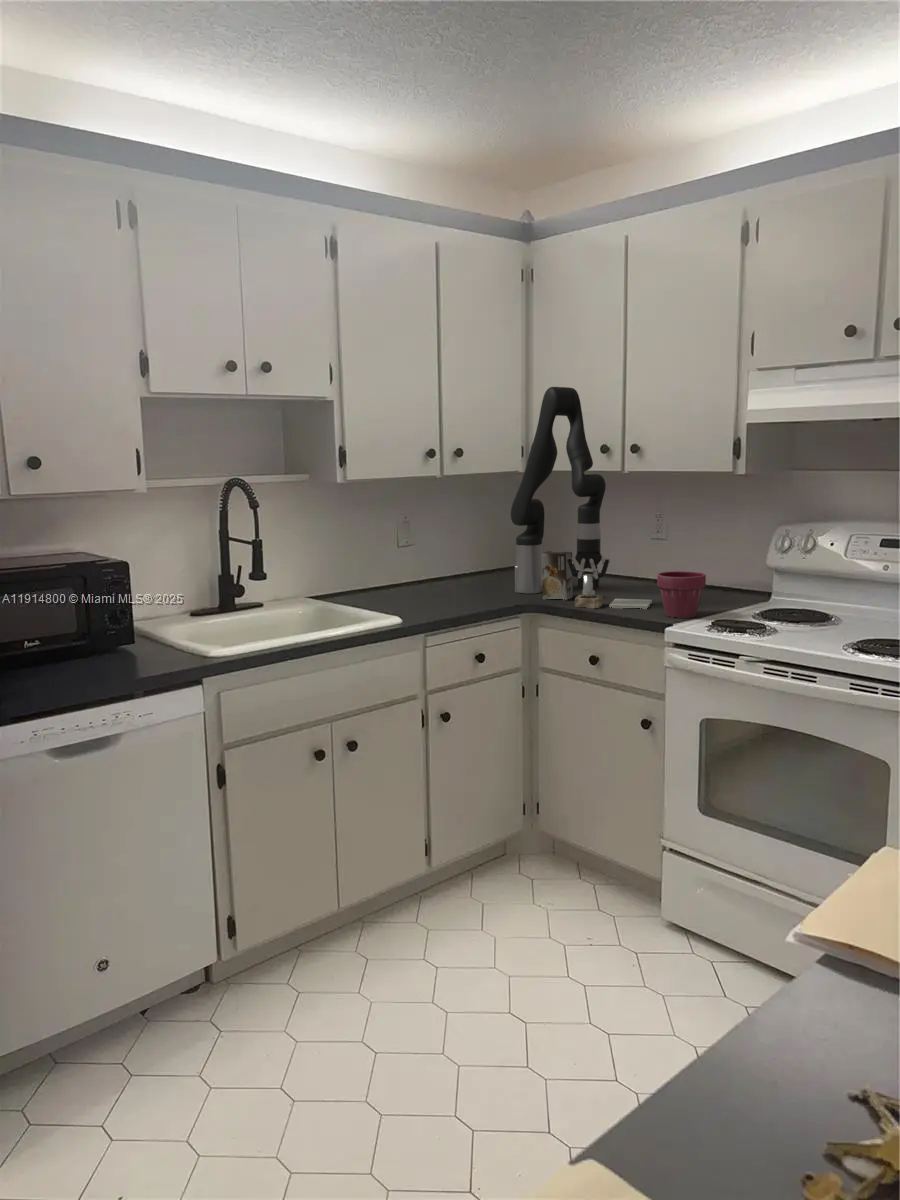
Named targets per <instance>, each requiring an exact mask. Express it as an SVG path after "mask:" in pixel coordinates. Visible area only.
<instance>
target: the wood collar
mask: <svg viewBox="0 0 900 1200" xmlns="http://www.w3.org/2000/svg"><path fill="white" fill-rule="evenodd" d="M602 605H603V595H601V594H600V595H596V594H595V599H590V598H582V594H578V596H576V597H575V598H574V608H575V607H586V608H585V609H594V608H598V609H600V608H601V607H602Z"/></svg>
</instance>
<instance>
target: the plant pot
mask: <svg viewBox="0 0 900 1200" xmlns="http://www.w3.org/2000/svg"><path fill="white" fill-rule="evenodd" d="M706 578H707V575H706V573H703V572H699V571H698V572H697V571H684V570H683V571H677V570H676V571H663V572H659V573H657V580H656V584H657V585H656V586H657V587H659V589H660V595H661V600H662V601H661V602H662V605H663V610H664V615H665V617H666V616H667V617H669V616H670V617H669V618H674V617H677V618H676V619H690V618H695V617H696V616H697V614H698V609H699V606H700V602H701V597H702V593H703V588H705V587H706V581H707V579H706Z"/></svg>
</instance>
